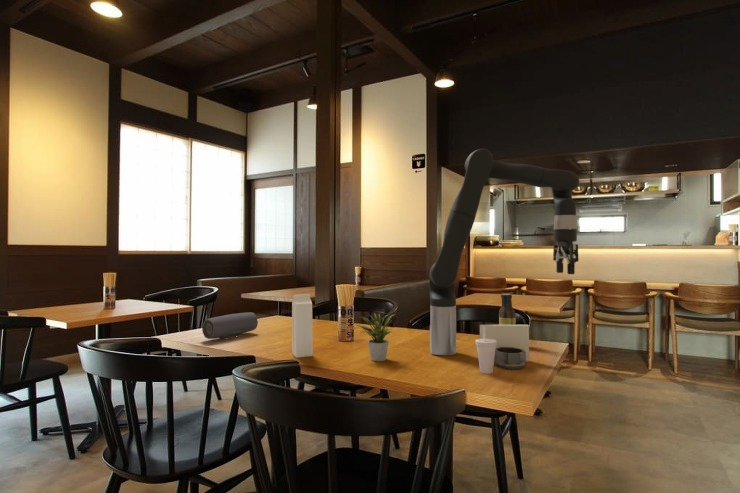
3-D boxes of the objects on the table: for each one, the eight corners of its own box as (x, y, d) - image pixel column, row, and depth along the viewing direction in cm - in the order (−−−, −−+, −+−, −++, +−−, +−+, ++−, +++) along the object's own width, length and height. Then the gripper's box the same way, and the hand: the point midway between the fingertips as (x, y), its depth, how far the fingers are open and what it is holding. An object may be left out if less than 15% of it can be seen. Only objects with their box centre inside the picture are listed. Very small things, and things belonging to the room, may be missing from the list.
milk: (312, 356, 150) (312, 294, 150) (295, 358, 148) (295, 295, 148) (308, 352, 156) (308, 292, 156) (291, 354, 153) (291, 293, 153)
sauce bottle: (510, 342, 170) (510, 292, 170) (519, 345, 164) (519, 294, 164) (496, 343, 168) (495, 293, 169) (504, 346, 162) (504, 294, 162)
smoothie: (472, 369, 132) (472, 324, 132) (492, 368, 132) (492, 324, 132) (479, 375, 125) (479, 328, 126) (500, 374, 126) (500, 328, 126)
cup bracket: (498, 369, 131) (498, 353, 131) (490, 361, 141) (490, 346, 141) (528, 370, 131) (528, 353, 131) (518, 361, 141) (518, 346, 141)
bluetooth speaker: (245, 331, 196) (245, 310, 196) (258, 334, 191) (258, 311, 191) (201, 340, 178) (201, 316, 178) (214, 343, 172) (214, 318, 173)
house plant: (379, 351, 156) (379, 307, 156) (408, 357, 146) (408, 310, 147) (351, 358, 146) (350, 311, 146) (379, 366, 136) (379, 315, 137)
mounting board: (480, 361, 141) (480, 325, 142) (480, 360, 143) (479, 324, 143) (529, 361, 141) (528, 325, 141) (528, 360, 142) (527, 324, 142)
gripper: (546, 229, 158) (546, 272, 158) (563, 227, 144) (564, 274, 144) (566, 229, 158) (566, 272, 158) (585, 227, 144) (585, 274, 144)
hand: (565, 273), depth 151 cm, fingers open, 8 cm apart
